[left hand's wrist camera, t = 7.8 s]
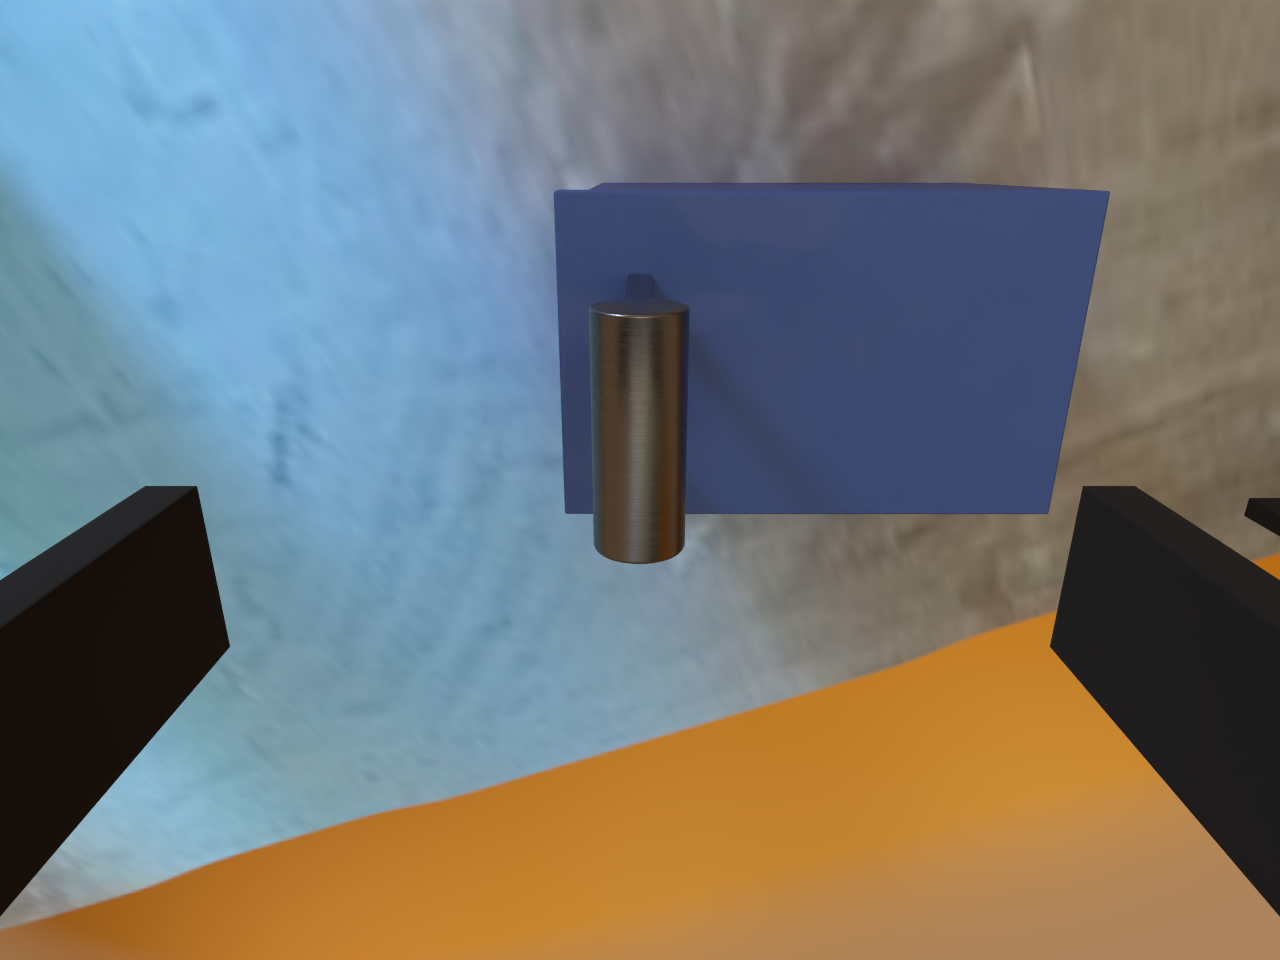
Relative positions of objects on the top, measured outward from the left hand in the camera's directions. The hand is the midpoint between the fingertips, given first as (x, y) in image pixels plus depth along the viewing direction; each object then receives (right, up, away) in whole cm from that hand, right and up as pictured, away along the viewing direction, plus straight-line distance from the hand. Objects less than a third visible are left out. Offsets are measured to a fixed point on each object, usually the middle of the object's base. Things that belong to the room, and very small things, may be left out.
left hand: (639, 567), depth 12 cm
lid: (+5, +5, +14) cm, 16 cm away
